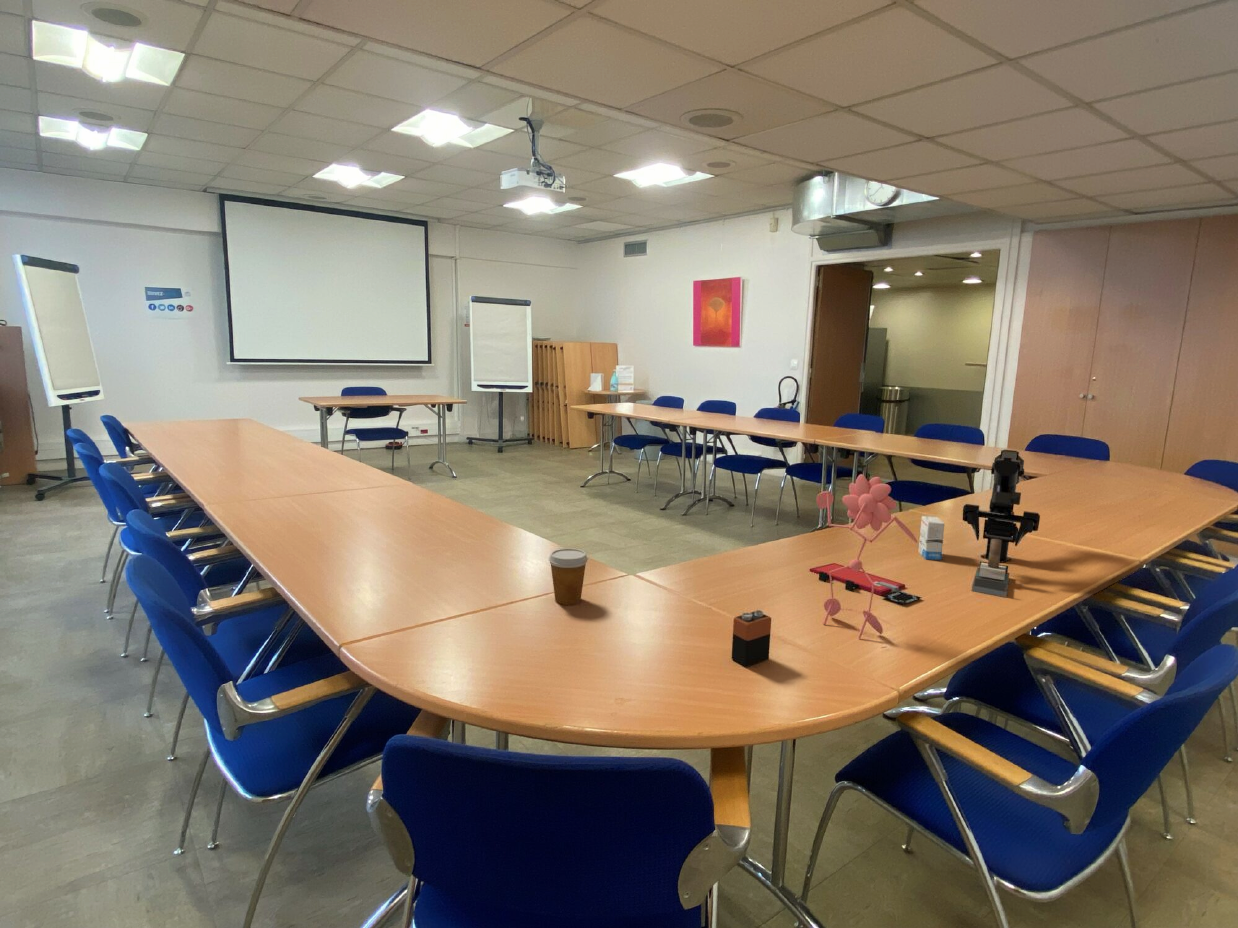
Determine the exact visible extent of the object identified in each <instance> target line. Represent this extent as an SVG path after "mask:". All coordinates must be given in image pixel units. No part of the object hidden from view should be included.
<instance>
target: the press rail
mask: <svg viewBox="0 0 1238 928" xmlns="http://www.w3.org/2000/svg"><path fill="white" fill-rule="evenodd" d="M981 563H987V564H988V562H986V561H979V567H976V570H975V571H976V572H975V574H974V578H973V581H972V584H971V592H975V593H980V594H981V593H982V594H985V595H992V596H998V597H1001V598H1002V597H1003V598H1007V594H1008V588H1009V579H1010V572H1008V571H1009V565H1004V564H1000V563H999V566H1005V567H1006V571H1005V578H1004V580H999V579H994V578H988V577H982V576H979V572H980V566H981Z"/></svg>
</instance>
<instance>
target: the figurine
mask: <svg viewBox="0 0 1238 928" xmlns="http://www.w3.org/2000/svg"><path fill="white" fill-rule="evenodd" d="M848 490H849V494H846V495H844V496H842V497H841V500H842V503H843V505H844V506H845V507H847V508H848V510H847V512H846V513H847V517H848V518H849V519H852V520H854V521H853V523H852V525H844V524H843V525H842V524H834V523H832V522H831V521H832V519H831V505H833V502H834V499H835V498H834V494H833V493H832V492H831V490H826V491H822V492H820V493H818V494H817V496H816V499H815V503H816V505H817V507H818V508H819V510H823V509H826V508H827V524H828V527H835V528H843V529H849V530H850V531H851V532H854V533H856V535H858V536H859V537H861V539H863V542H862V544H861V547H860V549H859V552H858V555H857V557H856V558H854V559H851V560H850V562H849V565H844V566H845V567H842V568H839V569H836V570H832V571H830V572H829V574H830V579H829V583H830V594H831V597H829V598H826V600H825V601H824V602H823V607H824V610H825V612H826V614H825V617H824V620H823V623H822V624H823V625H826V624H827V621H828V618H829V616H830V617H833V616H835V615H837V614H838V613H840V611H841V610H844V611H850V612H855V613H860V614H863V617H864V620H863V622H862V625H861V628H860V631H859V634H858V637H857V638H858V639H861V638H862V635H863V632H864V630H865V628H866V627H865V626H867V625H866V624H867V623H868V624H869V625H870V627H871V628H873V629H874V630H875V631H876V632H877V633H878V634H880V635H882V634H883V632H884V631H883V626H882V624H881V622H880V621H883V622H884V623H887V624H889V625H890V626H892V624H891V623H890V622H888V621H886V620H884V619H882V618H879V617H877V616H876V615H874V614H873V613H872V612H871V608H872V603H873V595H874V593H873V591H874V583H873V581H872V580H871V579H870V577H869V576H868V575H867V573H868V572H866V571H865V570H864V568H863V562H862V561H861V560H860V556H861V554H862V553H863V550H864V547H865V546H866V543H867V541H869V542H870V543H873V542H874V541H875V540H877V538H878V537H879V536H880V535H881V534H882V533H883V532H884V531H885V530H886V529H887V528H888V527H889V526H890V525H891V524H893V522H894V521H895V523H896V524H897V525H898V527H899V528H900V529H901V530H902V531H903V532H904V533H905V534H906V535H907V536H908V537H909V538H910V539H911V540H912V541H914V543H916V544H917V543H918V540H917V538H916V536H915V535H914V533H913V532H912V531H911V530H910V529H909V528H908V527H907V525H905V524H904V523H903V522H902V521H901V520H900V518H898V517H897V516H895V515H894V516H892V513H891V512H890V511H892V510H895V509H897V502H896V501H895V500H894V498H893V497H891V496H889V494H891V491H892V487H891V486H890V485H889V484H887V483H882V479H881V477H880V476H874V477H872V478H871V479H870V480H868V479H867V478H866V476H865V475H864V474H863V473H861V474H859V475H858V476H857V478H856V480H855V483H854V482H851V483H849V486H848ZM883 523H884V524H885V525H884V526H883V527H882V525H883ZM869 525H870V527H871V529H872V530H873V531H876V532H877V533H876V534H874V536H872V538H870V537H869V536H867V535H865V534H864V533H862V532H861V531H859V530H863V529H865V528H866V527H868V526H869ZM855 527H856V528H857V529H856V528H855ZM847 567H849V568H851V569H852V570H854V571H862V572H864V573H865V575H866V576H867V577H868V579H869V580H870V581H871V583H872V584H873V586H872V592H870V593H871V595H870V598H869V599H870V600H869V606H868V610H867V609H864V610H863V611H862V612H861V611H857V610H853V609H852V608H851V609H850V608H849V609H848V608H841V607H842V605H841V603H840V600H838V599H837V598H835V597H834V589H833V581H832V580H833V579H832V577H831V572H834V571H838V570H841V569H844V568H847ZM878 619H879V620H880V621H879V620H878ZM884 648H886V646H882V647H881V649H884Z"/></svg>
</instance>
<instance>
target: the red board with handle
mask: <svg viewBox="0 0 1238 928" xmlns="http://www.w3.org/2000/svg"><path fill="white" fill-rule="evenodd" d="M845 566H846V565H843V564H839V563H835V562H832V563H829V564H828V563H827V564H824V565H820V566H816V567H810V568H809V573H810V572H811V573H813V572H814V573H813V574H815V573H816V574H815V575H818V574H819V575H818V581H819V582H823V583H827V580H830V574H829V572H830V571H832V570H836V569H839V568H842V567H845ZM866 573H867V575H868V576H869V577H870V579H871V580H872V581H873V583H874V591H873V594H876V595H878V596H880V597H881V598H884V599H888V600H891V601H894V602H896V603H900V604H902V605H905V604H907V603H910V602H914V601H916V600H920V599H922V596H921V597H920V596H917V595H915V594H913V593H908V592H905V591H902V589H905V588H906V584H905V583H901V582H899V581H896V580H895V581H894V580H891V579H888V578H885V577H883V576H879V575H875V574H871V573H869V572H866ZM831 577H832V580H834V581H835V582H838V583H839V582H840V583H842V584H844V585H845V587H844V589H845V590H846V591H848V592H854V590H855V589H860V590H863V591H866V592H869V593H872V586H873V584H872V583H871V581H870V580H869V579H868V577H867V576H866V575H865V573H864V572H863V571H862V570H859V571H854V570H852V569H851V568H850V567H847V568H844V569H841V570H838V571H834V572H831ZM854 588H855V589H854Z"/></svg>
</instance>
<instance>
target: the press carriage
mask: <svg viewBox="0 0 1238 928" xmlns="http://www.w3.org/2000/svg"><path fill="white" fill-rule="evenodd" d="M1001 544H1002V540H1000V539H991V544H990V552H989V559H988V564H987V563H981V566H980V565H979V566H980V572H979V576H982V577H988V578H994V579H999V580H1004V578H1005V571H1006V567H1005V566H999V564H1000V562H999V560H1000V552H1001Z"/></svg>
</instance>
